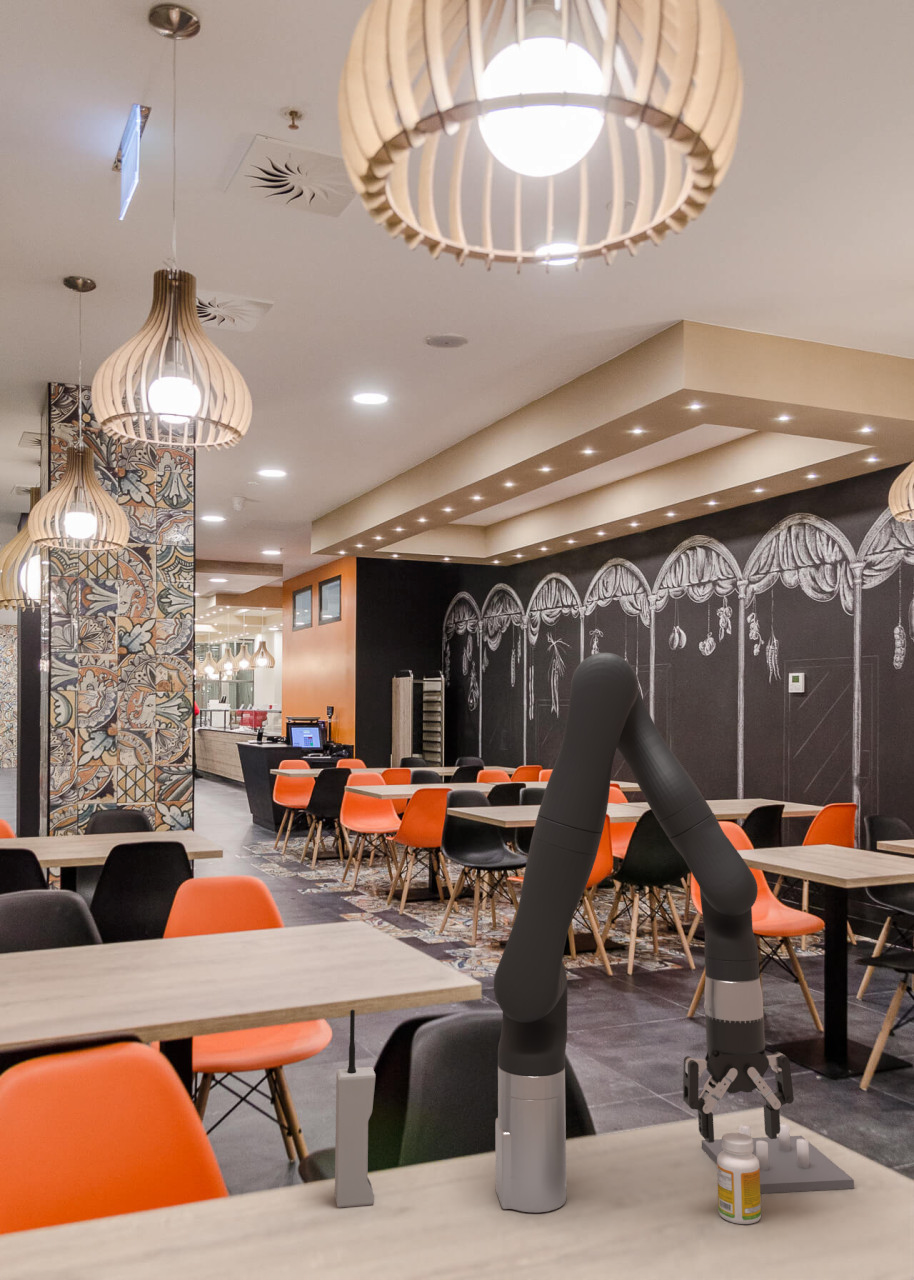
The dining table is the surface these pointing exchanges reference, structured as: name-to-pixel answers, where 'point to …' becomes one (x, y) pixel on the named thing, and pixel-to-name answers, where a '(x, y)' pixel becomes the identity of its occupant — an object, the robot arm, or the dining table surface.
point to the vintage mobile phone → (353, 1130)
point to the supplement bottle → (738, 1180)
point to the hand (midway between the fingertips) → (740, 1138)
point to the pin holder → (789, 1163)
